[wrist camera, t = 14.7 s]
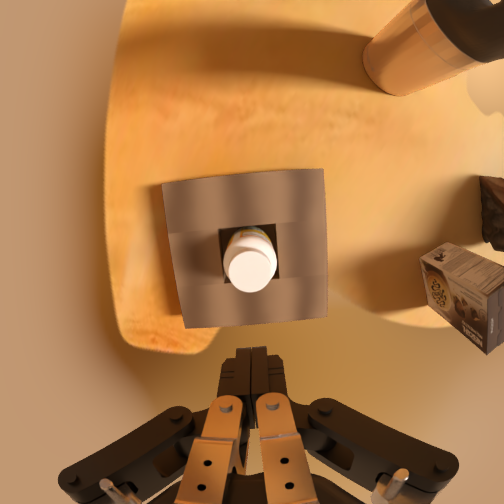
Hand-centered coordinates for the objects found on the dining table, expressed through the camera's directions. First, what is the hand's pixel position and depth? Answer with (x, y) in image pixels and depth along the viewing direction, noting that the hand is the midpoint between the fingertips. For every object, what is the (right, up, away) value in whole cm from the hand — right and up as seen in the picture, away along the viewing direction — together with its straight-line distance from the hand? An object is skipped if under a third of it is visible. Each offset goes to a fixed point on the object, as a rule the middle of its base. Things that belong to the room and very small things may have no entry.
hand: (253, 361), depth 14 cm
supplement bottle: (0, +6, +22) cm, 23 cm away
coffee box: (+29, +2, +24) cm, 38 cm away
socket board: (0, +6, +23) cm, 23 cm away
